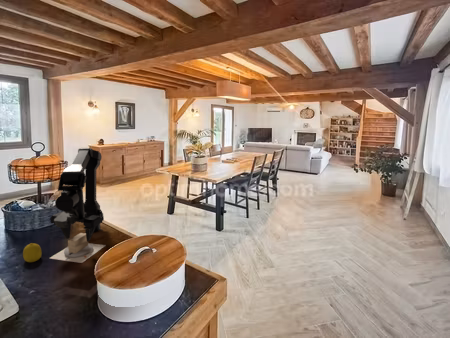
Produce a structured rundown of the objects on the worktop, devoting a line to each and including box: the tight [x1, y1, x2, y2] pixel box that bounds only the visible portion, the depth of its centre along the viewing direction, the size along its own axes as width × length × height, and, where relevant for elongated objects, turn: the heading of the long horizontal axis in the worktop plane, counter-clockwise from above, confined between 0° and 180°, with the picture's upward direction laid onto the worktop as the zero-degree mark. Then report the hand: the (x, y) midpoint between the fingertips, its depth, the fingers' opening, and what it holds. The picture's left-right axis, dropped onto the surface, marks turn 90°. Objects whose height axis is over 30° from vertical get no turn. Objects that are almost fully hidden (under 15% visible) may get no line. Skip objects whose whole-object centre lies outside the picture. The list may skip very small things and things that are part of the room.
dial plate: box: [49, 242, 106, 264], centre depth 103 cm, size 14×14×2 cm
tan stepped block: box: [63, 232, 93, 257], centre depth 102 cm, size 10×10×6 cm
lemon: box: [22, 242, 43, 263], centre depth 96 cm, size 6×6×8 cm
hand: (78, 239), depth 102 cm, fingers open, 9 cm apart
